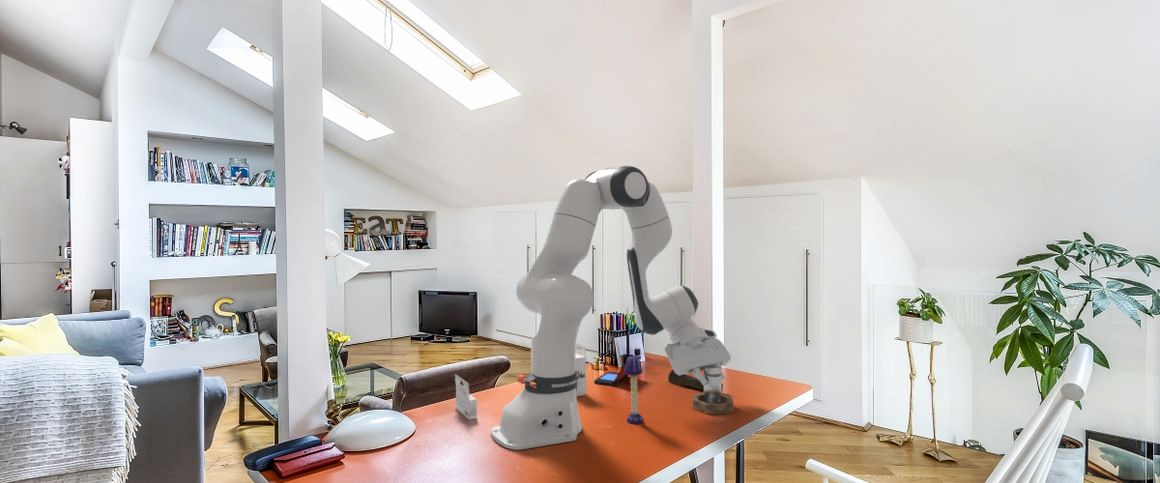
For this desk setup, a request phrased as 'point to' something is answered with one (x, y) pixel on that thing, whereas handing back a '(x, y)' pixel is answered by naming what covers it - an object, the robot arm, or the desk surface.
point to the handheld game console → (612, 377)
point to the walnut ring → (712, 405)
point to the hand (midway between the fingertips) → (714, 381)
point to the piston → (713, 384)
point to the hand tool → (686, 381)
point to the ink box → (580, 369)
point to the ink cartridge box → (465, 399)
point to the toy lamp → (634, 388)
